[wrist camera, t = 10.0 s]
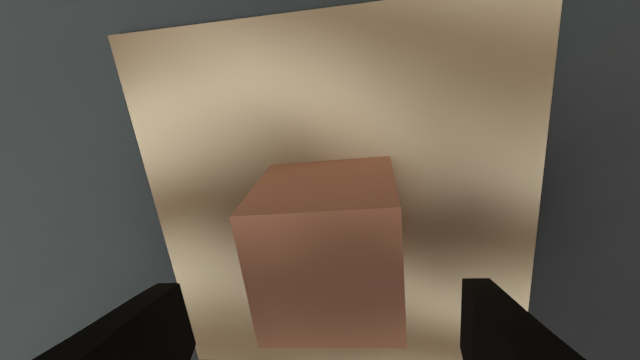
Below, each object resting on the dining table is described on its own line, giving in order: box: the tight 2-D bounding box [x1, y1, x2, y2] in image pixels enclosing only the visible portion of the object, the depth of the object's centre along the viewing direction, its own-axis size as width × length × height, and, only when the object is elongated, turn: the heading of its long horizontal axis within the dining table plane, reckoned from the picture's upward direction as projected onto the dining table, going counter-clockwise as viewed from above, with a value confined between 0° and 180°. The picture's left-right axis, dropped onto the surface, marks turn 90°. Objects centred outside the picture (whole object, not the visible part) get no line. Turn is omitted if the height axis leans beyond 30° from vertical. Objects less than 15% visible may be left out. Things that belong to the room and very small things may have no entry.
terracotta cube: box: [229, 156, 407, 349], centre depth 12 cm, size 4×4×4 cm
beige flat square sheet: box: [108, 0, 562, 360], centre depth 15 cm, size 15×15×1 cm
